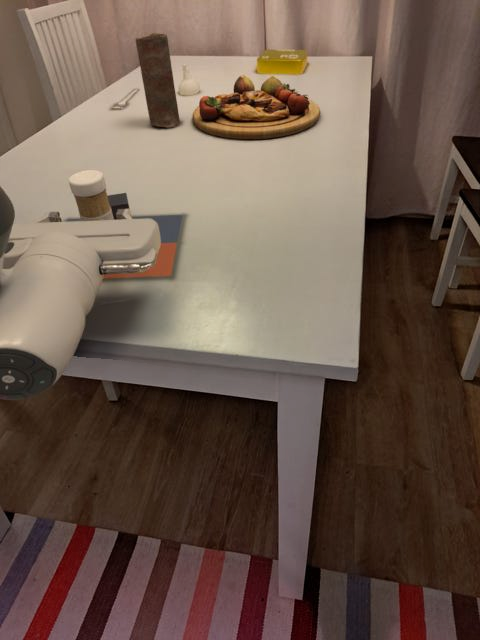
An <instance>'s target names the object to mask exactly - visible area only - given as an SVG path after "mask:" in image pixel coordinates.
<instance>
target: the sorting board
mask: <svg viewBox="0 0 480 640" xmlns="http://www.w3.org/2000/svg"><path fill="white" fill-rule="evenodd" d="M131 217H132V218H133V219H146V218H150V219H153V220H154V221H156V222H157V224H158V227H159V232H160V238H161V246H160V249H159V251H158V254H157V259H156V263H155V265H154V266H153V267H149V268H148V269H147V270H145V271H143V272H140V273H135V274H113V275H104V276H103V279H125V278H128V279H129V278H154V277H155V278H156V277H171V276H172V274H173V273H172V271H173V267H174V262H175V256H176V253H177V252H176V251H177V246H178V242H179V237H180V236H179V235H180V230H181V225H182V220H183V214H172V215H169V214H168V215H146V216H145V215H144V216H131ZM71 221H81V218H69V219H67V221H66V222H71Z"/></svg>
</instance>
